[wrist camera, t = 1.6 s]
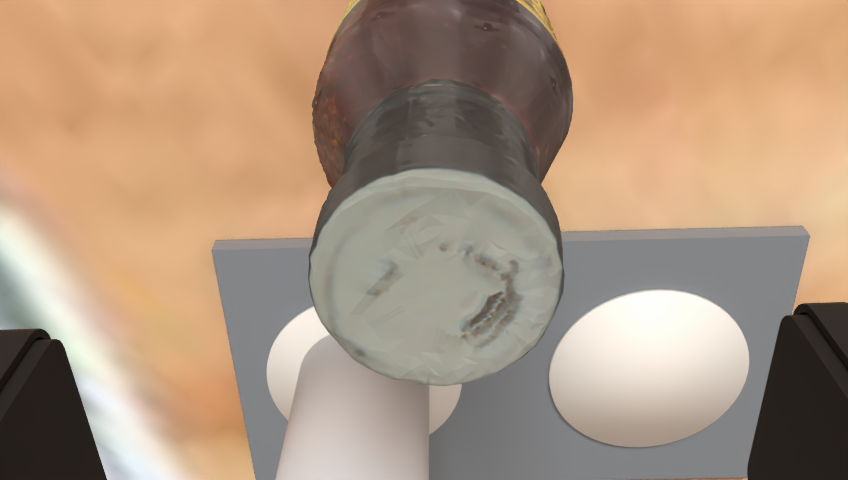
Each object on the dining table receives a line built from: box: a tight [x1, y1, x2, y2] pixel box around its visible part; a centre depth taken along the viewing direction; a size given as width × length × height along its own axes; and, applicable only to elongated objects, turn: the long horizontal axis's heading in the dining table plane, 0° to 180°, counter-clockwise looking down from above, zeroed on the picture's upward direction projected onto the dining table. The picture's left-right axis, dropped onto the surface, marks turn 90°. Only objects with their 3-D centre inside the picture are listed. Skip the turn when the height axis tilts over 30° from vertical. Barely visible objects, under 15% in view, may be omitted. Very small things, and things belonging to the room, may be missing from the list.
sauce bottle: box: [308, 0, 573, 386], centre depth 21 cm, size 7×6×20 cm
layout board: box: [212, 226, 810, 480], centre depth 33 cm, size 25×14×13 cm, turn 92°
